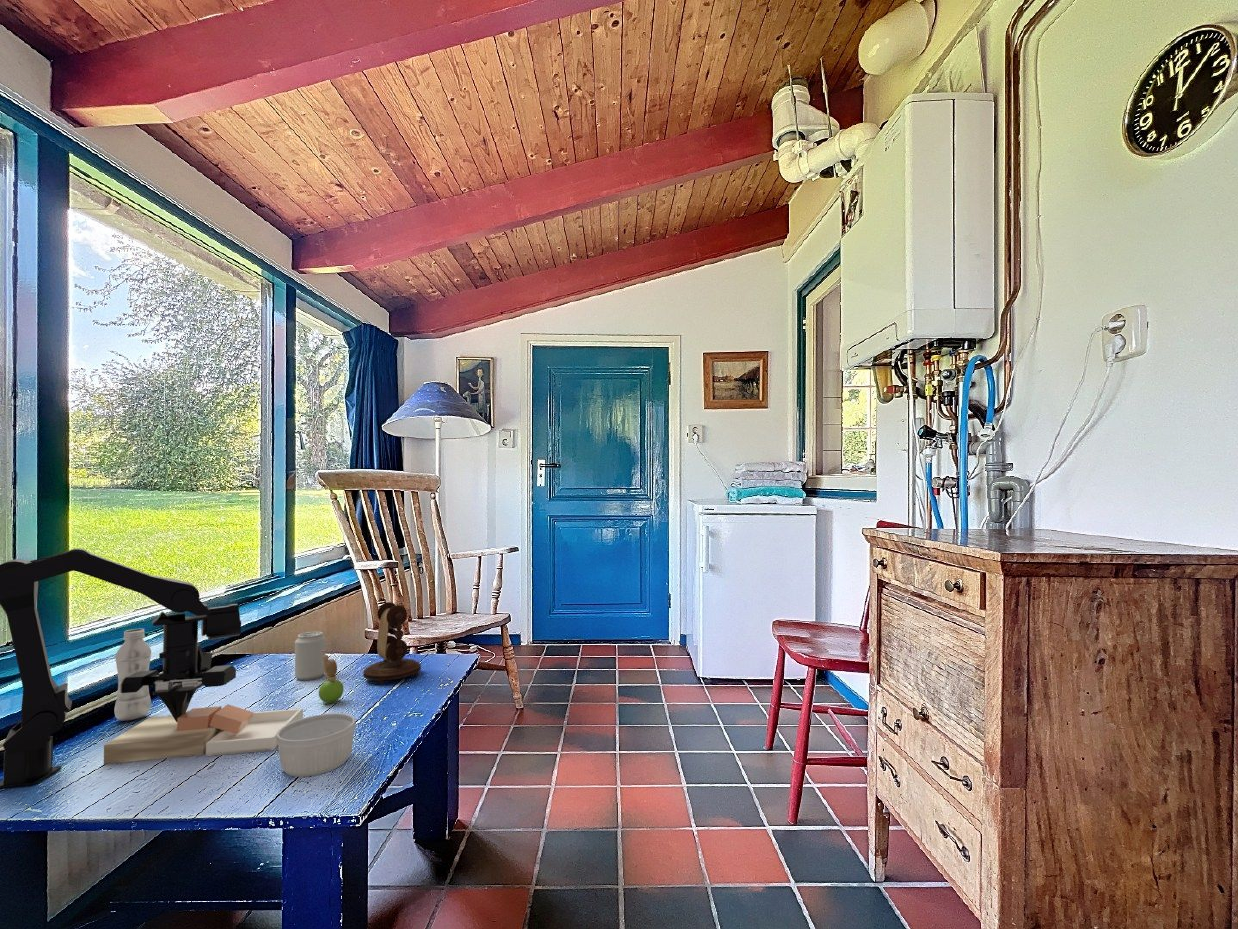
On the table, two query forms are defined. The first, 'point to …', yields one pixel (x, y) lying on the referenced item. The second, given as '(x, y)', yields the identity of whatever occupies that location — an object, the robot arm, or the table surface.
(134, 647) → the plastic bottle
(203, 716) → the tile
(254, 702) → the table surface
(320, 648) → the can
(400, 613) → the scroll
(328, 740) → the ramekin
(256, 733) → the tray
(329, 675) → the green maraca
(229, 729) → the tile
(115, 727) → the table surface
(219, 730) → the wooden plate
